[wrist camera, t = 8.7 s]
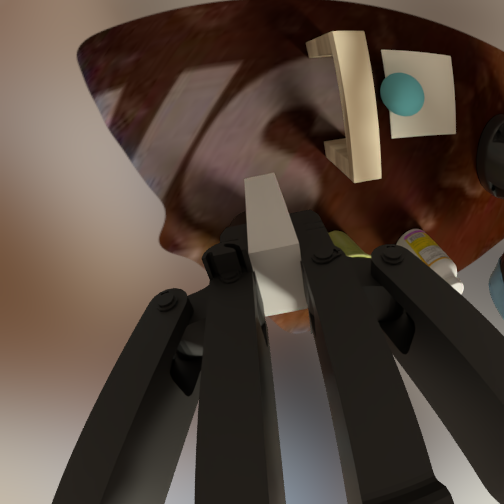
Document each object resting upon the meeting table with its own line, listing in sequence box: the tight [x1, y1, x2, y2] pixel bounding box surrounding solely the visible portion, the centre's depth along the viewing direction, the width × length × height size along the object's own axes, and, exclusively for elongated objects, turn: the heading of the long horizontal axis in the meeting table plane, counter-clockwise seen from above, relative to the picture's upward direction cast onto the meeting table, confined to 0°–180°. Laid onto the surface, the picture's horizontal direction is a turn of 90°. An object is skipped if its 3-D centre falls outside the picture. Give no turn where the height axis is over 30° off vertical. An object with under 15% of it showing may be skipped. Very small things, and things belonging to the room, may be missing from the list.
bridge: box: [306, 31, 381, 183], centre depth 25 cm, size 3×14×9 cm, turn 12°
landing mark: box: [381, 50, 456, 139], centre depth 28 cm, size 12×12×1 cm
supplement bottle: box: [396, 229, 464, 295], centre depth 36 cm, size 7×7×13 cm
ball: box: [380, 73, 425, 116], centre depth 26 cm, size 6×6×6 cm
